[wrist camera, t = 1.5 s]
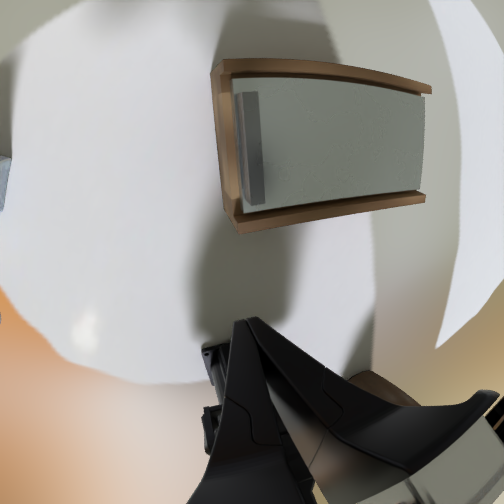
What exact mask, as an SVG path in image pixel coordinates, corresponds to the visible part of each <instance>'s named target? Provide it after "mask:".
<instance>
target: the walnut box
mask: <svg viewBox="0 0 504 504" xmlns="http://www.w3.org/2000/svg"><path fill="white" fill-rule="evenodd" d="M210 76H211V88H212V99H213V110H214V121H215V131H216V141H217V151H218V160H219V170H220V179H221V188H222V197H223V205H224V210H225V212H226V213H227V215H228V217H229V218H230V220H231V222H232V223H233V225H234V227H235V229H236V230H237V232H238V234H244V233H249V232H255V231H260V230H265V229H271V228H276V227H282V226H287V225H293V224H298V223H304V222H310V221H315V220H321V219H327V218H333V217H339V216H344V215H350V214H356V213H362V212H368V211H375V210H380V209H387V208H393V207H399V206H406V205H413V204H419V203H425V198H426V195H425V194H423V193H421V192H419V191H416V190H407V191H398V192H389V193H380V194H372V195H363V196H355V197H348V198H340V199H333V200H326V201H318V202H312V203H305V204H298V205H292V206H285V207H279V208H273V209H266V210H260V211H254V212H249V213H243V211H242V210H241V207H240V197H239V186H238V175H237V163H236V152H235V141H234V129H233V118H232V106H231V94H230V82H229V81H230V80H231V79H239V78H304V79H319V80H331V81H340V82H348V83H356V84H363V85H369V86H375V87H381V88H386V89H391V90H396V91H400V92H405V93H409V94H413V95H417V96H421V93H425V94H432V89H431V86H430V85H427V84H424V83H421V82H417V81H414V80H411V79H407V78H403V77H400V76H395V75H392V74H388V73H383V72H379V71H375V70H370V69H365V68H359V67H354V66H348V65H341V64H334V63H327V62H318V61H308V60H294V59H271V58H244V59H223V60H222V61H221V62H220V63H219V64H218V65H217V66H216V67H215V69H214V70H213V71H212V72H211V73H210Z"/></svg>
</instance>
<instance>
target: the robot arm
mask: <svg viewBox="0 0 504 504" xmlns="http://www.w3.org/2000/svg"><path fill="white" fill-rule="evenodd" d="M201 353H202V357H203V360H204V363H205V366H206V369H207V372H208V375H209V378H210V381H211V384H212V385H213V386H215V390H216V394H217V397H218V401H219V405H216V406H211V407H209V406H207V407H204V414H203V416H202V417H201V418H202V423H203V428H204V447H205V452H206V453H207V454H208V455H210V459H209V462H208V465H207V468H206V471H205V473H204V476H203V478H202V480H201V482H200V483H199V485H198V487H197V488H196V490H195V491H194V493H193V494H192V496H191V498H190V499H189V500H188V502H187V503H186V504H317V502H316V500H315V497H314V494H313V492H312V490H313V487H314V484H315V481H316V483H317V485H318V486H319V488H320V490H321V492H322V493H323V495H324V497H325V498H326V500H327V502H328V503H329V504H356V503H357V504H492V503H493V502H494V501H495V500H496V499H497V498H498V497H499V495H500V494H501V493H502V492H503V491H504V396H503V397H502V398H501V399H500V400H499V402H498V403H497V404H496V405H495V406H494V407H493V408H492V409H491V410H490V411H489V412H488V413H487V414H486V416H485V417H484V416H483V414H484V413H485V412H486V411H487V410H488V408H490V406H491V405H492V404H493V403H494V402H495V401H496V400H497V398H498V397H499V396H500V394H499V393H497V392H495V391H491V390H478V391H477V392H476V393H475V394H474V395H473V396H472V397H471V398H470V399H468V400H467V401H465V402H463V403H460V404H456V405H444V406H402V405H397V404H393V403H391V402H388V401H386V400H384V399H382V398H380V397H378V396H376V395H374V394H372V393H369V392H367V391H365V390H363V389H361V388H360V387H358V386H356V385H354V384H352V383H350V382H348V381H347V380H345V379H343V378H342V377H340V376H339V375H337V374H336V373H334V372H333V371H331V370H330V369H328V368H327V367H326V368H325V366H324V365H323V364H321V363H320V362H318V361H317V360H315V359H314V358H313V357H311V356H310V355H308V354H307V353H306V352H304V351H303V350H302V349H300V348H299V347H297V346H296V345H295V344H293V343H292V342H291V341H289V340H288V339H286V338H285V337H284V336H282V335H281V334H280V333H278V332H277V331H276V330H274V329H273V328H272V327H270V326H269V325H268V324H266V323H265V322H264V321H262V320H261V319H260V318H258V317H256V316H255V317H250V318H247V319H246V320H244V319H242V320H238V321H234V323H233V330H232V337H231V343H227V344H223V345H219V346H214V347H210V348H205V349H203V350H202V351H201Z"/></svg>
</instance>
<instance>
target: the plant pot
mask: <svg viewBox="0 0 504 504" xmlns="http://www.w3.org/2000/svg"><path fill="white" fill-rule="evenodd" d="M348 382H350V383H352V384H354V385H356V386H358V387H360V388H361V389H363V390H365V391H367V392H369V393H372V394H374V395H376V396H378V397H380V398H382V399H384V400H386V401H388V402H391V403H393V404H397V405H402V406H421V405H420V404H418V403H417V402H416V401H415V400H414V399H412V398H411V397H410V396H409V395H407V394H406V393H405V392H404V391H402V390H401V389H399V388H398V387H397V386H395V385H393V384H392V383H391V382H389V381H387V380H386V379H384V378H383V377H381V376H379V375H378V374H376V373H374V372H373V371H364V372H362V373H359V374H357V375H355V376H354V377H352V378H351V379H349V380H348Z"/></svg>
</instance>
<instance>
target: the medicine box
mask: <svg viewBox="0 0 504 504" xmlns="http://www.w3.org/2000/svg"><path fill="white" fill-rule="evenodd" d="M10 164H11V158H8V157H5V156H1V155H0V212H2V211H3V207H4V200H5V194H6V187H7V180H8V175H9V170H10Z"/></svg>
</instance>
